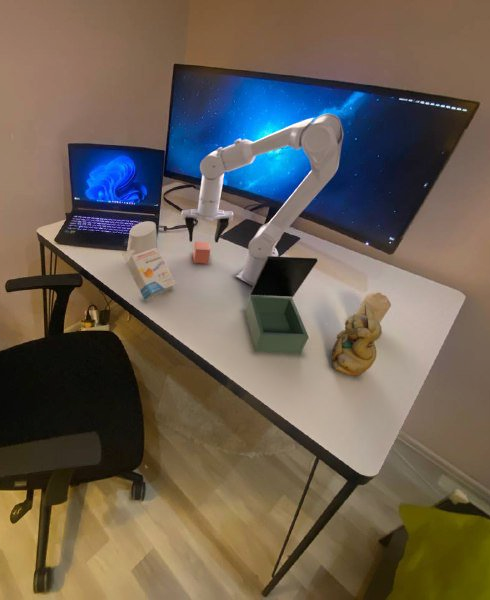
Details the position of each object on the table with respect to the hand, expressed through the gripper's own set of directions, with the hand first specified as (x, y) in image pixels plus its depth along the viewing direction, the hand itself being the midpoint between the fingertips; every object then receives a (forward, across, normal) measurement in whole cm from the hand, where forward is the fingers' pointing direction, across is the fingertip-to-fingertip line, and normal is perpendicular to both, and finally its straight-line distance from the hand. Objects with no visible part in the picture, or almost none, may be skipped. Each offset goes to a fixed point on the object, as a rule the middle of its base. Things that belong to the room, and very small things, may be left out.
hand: (203, 240), depth 104 cm
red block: (+7, 0, 0) cm, 7 cm away
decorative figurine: (+7, +29, -40) cm, 50 cm away
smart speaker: (+7, -18, -5) cm, 20 cm away
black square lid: (-6, +15, -26) cm, 31 cm away
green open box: (+7, +15, -31) cm, 35 cm away
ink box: (+5, -13, -19) cm, 24 cm away
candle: (+7, +38, -28) cm, 48 cm away
